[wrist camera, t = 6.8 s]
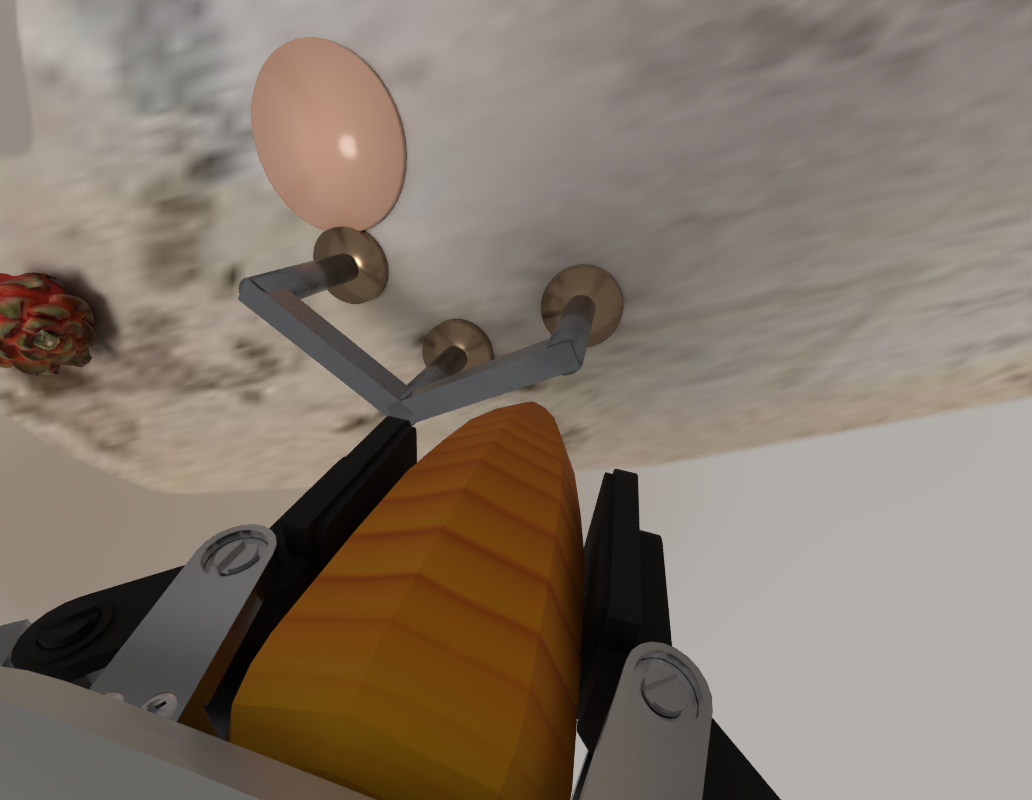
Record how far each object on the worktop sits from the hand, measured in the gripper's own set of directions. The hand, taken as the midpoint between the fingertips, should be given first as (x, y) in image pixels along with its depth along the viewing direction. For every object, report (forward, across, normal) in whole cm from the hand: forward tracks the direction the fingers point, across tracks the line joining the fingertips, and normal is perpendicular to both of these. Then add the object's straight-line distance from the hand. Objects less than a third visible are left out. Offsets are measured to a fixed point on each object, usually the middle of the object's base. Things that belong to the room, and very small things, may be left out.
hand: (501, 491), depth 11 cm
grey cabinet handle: (+18, +8, +2) cm, 20 cm away
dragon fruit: (+19, +45, +9) cm, 49 cm away
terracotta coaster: (+18, +17, -7) cm, 26 cm away
